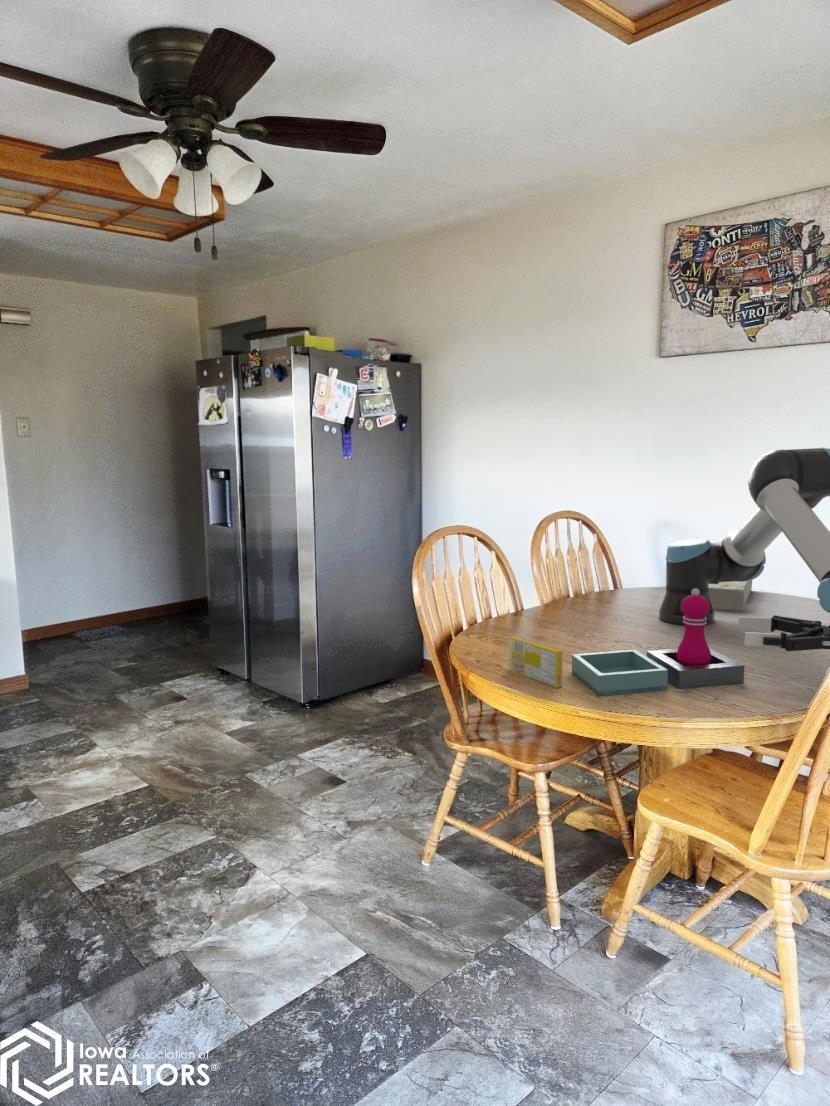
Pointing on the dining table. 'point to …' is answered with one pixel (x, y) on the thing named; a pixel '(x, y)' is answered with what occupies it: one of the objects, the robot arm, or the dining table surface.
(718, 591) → the box
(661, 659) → the bore block
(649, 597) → the dining table surface
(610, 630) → the dining table surface
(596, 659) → the tray
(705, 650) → the pepper mill
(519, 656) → the candy box
